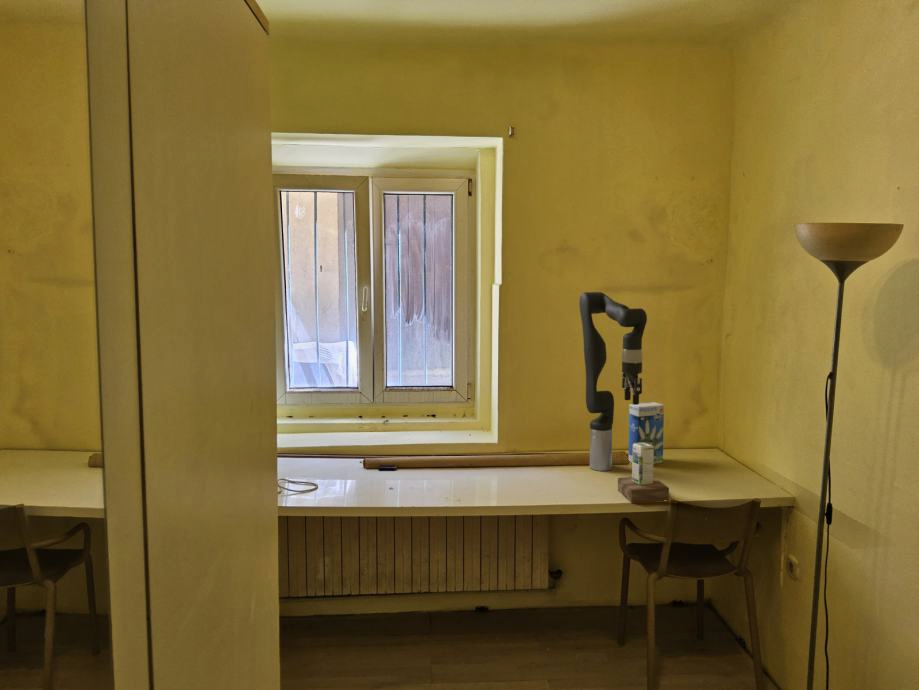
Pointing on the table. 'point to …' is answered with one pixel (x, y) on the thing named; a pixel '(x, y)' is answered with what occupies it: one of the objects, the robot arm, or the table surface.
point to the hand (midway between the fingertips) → (631, 402)
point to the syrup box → (642, 463)
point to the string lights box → (647, 428)
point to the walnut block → (643, 491)
